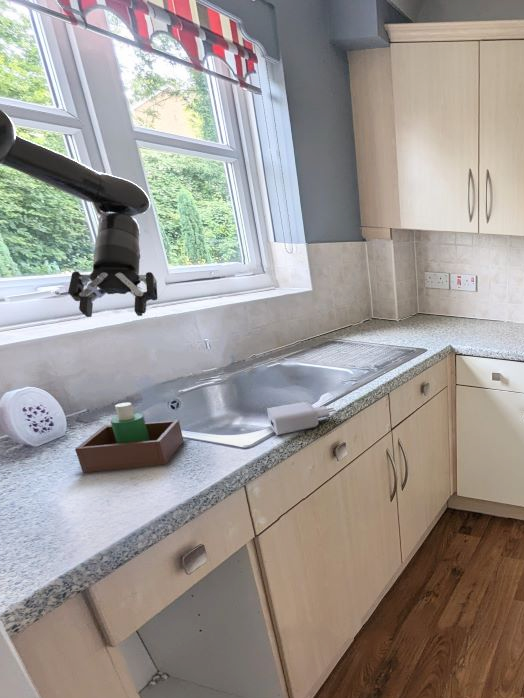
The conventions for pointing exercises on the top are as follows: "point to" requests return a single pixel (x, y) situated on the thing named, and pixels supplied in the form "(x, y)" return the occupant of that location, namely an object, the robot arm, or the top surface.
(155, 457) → the tray
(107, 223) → the robot arm
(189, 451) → the top surface
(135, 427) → the green bottle
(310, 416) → the charger
